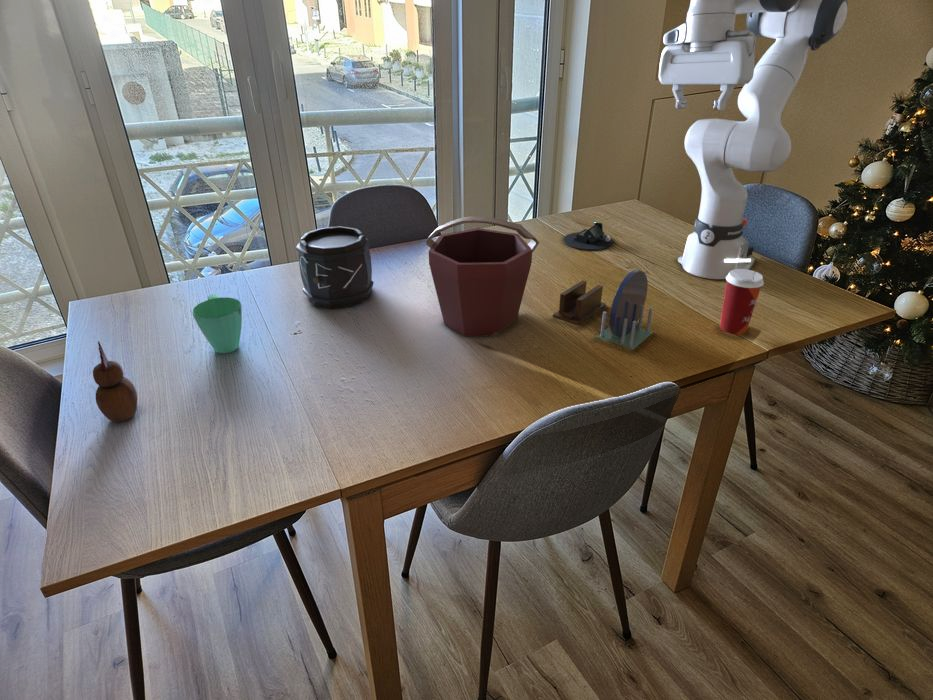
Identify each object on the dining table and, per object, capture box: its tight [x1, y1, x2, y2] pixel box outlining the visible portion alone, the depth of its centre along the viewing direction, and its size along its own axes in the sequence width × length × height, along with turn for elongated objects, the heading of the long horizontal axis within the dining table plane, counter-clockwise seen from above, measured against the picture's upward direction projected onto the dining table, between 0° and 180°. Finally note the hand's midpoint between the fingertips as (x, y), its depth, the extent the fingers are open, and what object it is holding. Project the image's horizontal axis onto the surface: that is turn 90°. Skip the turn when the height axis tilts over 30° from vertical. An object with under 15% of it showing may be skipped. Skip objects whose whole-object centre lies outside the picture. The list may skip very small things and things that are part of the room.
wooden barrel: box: [295, 225, 374, 310], centre depth 154 cm, size 18×18×16 cm
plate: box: [608, 269, 649, 338], centre depth 133 cm, size 15×1×15 cm, turn 140°
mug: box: [192, 293, 243, 354], centre depth 134 cm, size 15×10×10 cm
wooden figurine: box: [92, 340, 138, 423], centre depth 110 cm, size 7×6×15 cm
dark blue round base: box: [563, 221, 614, 251], centre depth 188 cm, size 15×15×6 cm
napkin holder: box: [552, 279, 607, 326], centre depth 145 cm, size 13×7×6 cm, turn 140°
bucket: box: [425, 215, 540, 337], centre depth 138 cm, size 24×22×25 cm
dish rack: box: [595, 304, 654, 350], centre depth 135 cm, size 10×9×7 cm
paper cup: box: [719, 269, 765, 335], centre depth 136 cm, size 8×8×14 cm
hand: (699, 109), depth 124 cm, fingers open, 8 cm apart
